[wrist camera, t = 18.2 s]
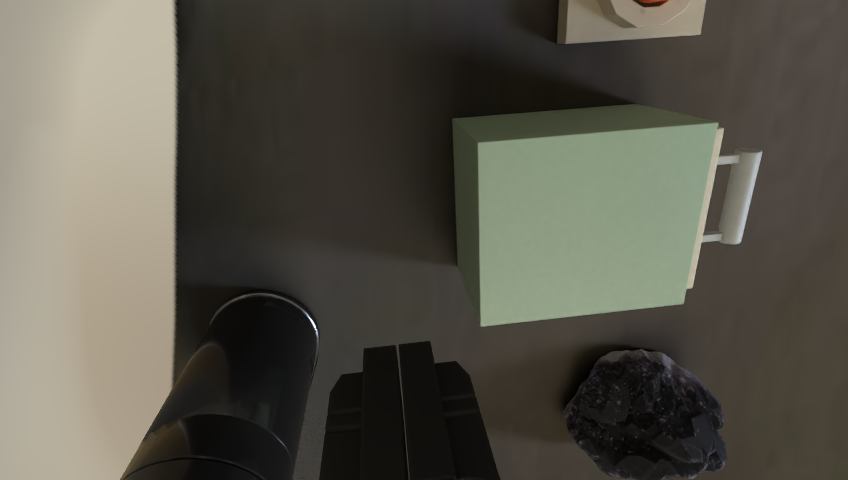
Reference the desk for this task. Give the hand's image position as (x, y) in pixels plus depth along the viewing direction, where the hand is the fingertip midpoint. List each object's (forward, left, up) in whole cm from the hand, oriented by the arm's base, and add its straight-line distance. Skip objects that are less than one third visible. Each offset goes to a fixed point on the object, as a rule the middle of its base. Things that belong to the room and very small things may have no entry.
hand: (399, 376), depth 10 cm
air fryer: (+5, -13, -27) cm, 30 cm away
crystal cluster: (-6, -36, -27) cm, 46 cm away
